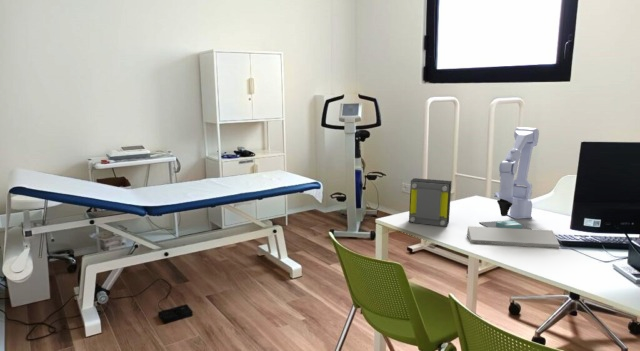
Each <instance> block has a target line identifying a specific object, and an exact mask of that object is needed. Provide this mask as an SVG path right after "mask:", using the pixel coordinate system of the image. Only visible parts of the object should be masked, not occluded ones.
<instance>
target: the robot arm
mask: <svg viewBox="0 0 640 351" xmlns="http://www.w3.org/2000/svg"><path fill="white" fill-rule="evenodd" d="M513 136H514V143H513V147H512V148H511V149H509V150H508V152H507V153H506V156H505V158H504V159H503V160H502V161H500V163H499V166H498V169H499V170H498V171H499V178H500V181H499V192H493V193H494V194H493V197H494V198H497V201H496V202H497V204H498V207H499V210H500V216H501V217H507V216H509V217H511V218H513V219H514V220H521V219H532V218H533V216H532V212H533V203H532V200H531V197H532V194H533V185H532V183H531V182H530V181H529V180H528V175H529V171H530V163H531V159H532V153H533V149H534V147H536V146H538V143H539V142H538V141H539V136H540V130H539V128H538V127H522V126H521V127H520V126H516V127H515V129H514V134H513ZM515 175H516V178H515Z"/></svg>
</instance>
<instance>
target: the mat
mask: <svg viewBox="0 0 640 351" xmlns="http://www.w3.org/2000/svg"><path fill="white" fill-rule="evenodd" d="M500 221H501V220H497V221H496V220H495V221H494V220H493V221H481V222H478V223H479V224H480V225H482V226H483V227H492V228H500V227H498V226H496V222H500ZM506 221H515V219H511V220H510V219H509V220H506ZM521 224H522V228H519V229H532V228H531V227H529V226H527V225H524V224H523V223H521Z"/></svg>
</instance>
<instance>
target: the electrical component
mask: <svg viewBox="0 0 640 351" xmlns="http://www.w3.org/2000/svg"><path fill="white" fill-rule="evenodd" d="M409 194H410V195H409V209H408V211H409V212H408V223H412V222H413V223H414V224H421V225H422V224H424V225H431V226H438V227H440V226H441V227H448V225H449V223H450V214H451V213H450V211H451V196H452V195H451V194H452V180H443V179H442V180H441V179H429V178H414V177H413V178H412V179H411V180H410V193H409Z"/></svg>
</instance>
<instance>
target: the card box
mask: <svg viewBox="0 0 640 351" xmlns="http://www.w3.org/2000/svg"><path fill="white" fill-rule="evenodd" d="M499 221H500V222H496V226H498V227H500V228H512V229H519V228H522V224H523V223H520V222H519V221H517V220H514V221H507V220H499Z"/></svg>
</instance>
